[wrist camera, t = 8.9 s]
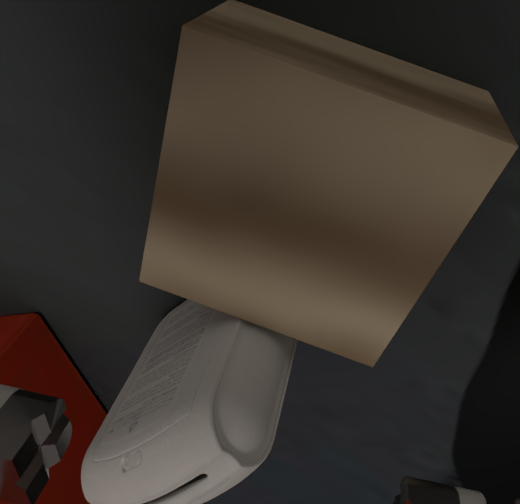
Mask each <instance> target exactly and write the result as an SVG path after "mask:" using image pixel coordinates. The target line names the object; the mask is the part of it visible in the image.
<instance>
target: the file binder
mask: <svg viewBox="0 0 520 504" xmlns="http://www.w3.org/2000/svg"><path fill="white" fill-rule="evenodd" d="M0 384H2V385H6V386H11V387H15V388H20V389H23V390H27V391H31V392H36V393H40V394H44V395H49V396H53V397H58V398H62V399H64V402H65V405H66V410H65V411H64V413H63V414H64V415H65V416H66V417H67V418H68V419H69V420H70V422H71V425H72V436H71V439H70V442H69V445H68V448H67V450H66V452H65V454H64V455H63V457H62V459H61V461H59V462H58V463H56V464H55V465H53V466H52V467H50V468H49V480H48V482H47V484H46V485H45V487H44V489H43V490H42V492H41V494H40V495H39V497H38V498H37V500H36V502H35V503H34V504H90V503H89V502H88V501H87V500H86V498H85V496H84V493H83V490H82V485H81V468H82V463H83V459H84V457H85V454H86V452H87V449H88V448H89V446H90V444H91V442H92V441H93V439H94V437H95V435H96V433H97V432H98V430H99V428H100V427H101V425H102V423H103V421H104V420H105V418H106V416H107V414H106V412H105V411H104V409H103V408H102V406H101V405H100V403H99V402H98V401H97V399H96V398H95V396H94V395H93V393H92V392H91V390H90V389H89V387H88V386H87V384H86V383H85V382H84V380H83V379H82V377H81V376H80V374H79V373H78V371H77V370H76V368H75V367H74V365H73V364H72V362H71V361H70V360H69V358H68V357H67V355H66V354H65V352H64V351H63V349H62V348H61V346H60V345H59V343H58V342H57V341H56V339H55V338H54V336H53V335H52V333H51V332H50V330H49V329H48V327H47V326H46V324H45V323H44V322H43V320H42V319H41V317H40V316H39V314H36V313H28V314H19V315H9V316H0ZM0 504H15V503H11V502H7V501H2V500H0Z"/></svg>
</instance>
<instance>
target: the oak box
mask: <svg viewBox="0 0 520 504" xmlns="http://www.w3.org/2000/svg"><path fill="white" fill-rule="evenodd" d="M517 148H518V145H517V143H516V141H515V139H514V138H513V136H512V134H511V132H510V130H509V128H508V126H507V125H506V123H505V121H504V119H503V117H502V115H501V113H500V112H499V110H498V108H497V106H496V104H495V102H494V100H493V99H492V97H491V95H490V93H489V91H486V90H484V89H481V88H478V87H475V86H472V85H470V84H467V83H464V82H461V81H459V80H456V79H453V78H450V77H447V76H445V75H442V74H439V73H436V72H433V71H431V70H428V69H425V68H422V67H420V66H417V65H414V64H411V63H408V62H406V61H403V60H400V59H397V58H395V57H392V56H389V55H386V54H383V53H381V52H378V51H375V50H372V49H370V48H367V47H364V46H361V45H358V44H356V43H353V42H350V41H347V40H345V39H342V38H339V37H336V36H333V35H331V34H328V33H325V32H322V31H320V30H317V29H314V28H311V27H308V26H306V25H303V24H300V23H297V22H295V21H292V20H289V19H286V18H283V17H281V16H278V15H275V14H272V13H270V12H267V11H264V10H261V9H258V8H256V7H253V6H250V5H247V4H245V3H242V2H239V1H236V0H228V1H226V2H224V3H222V4H220V5H219V6H217V7H215V8H213V9H211V10H210V11H208V12H206V13H204V14H202V15H200V16H199V17H197V18H195V19H193V20H191V21H189V22H188V23H186V24H184V25H182V30H181V36H180V42H179V48H178V54H177V60H176V66H175V72H174V78H173V83H172V89H171V95H170V101H169V107H168V113H167V119H166V125H165V131H164V137H163V143H162V149H161V155H160V161H159V167H158V172H157V178H156V184H155V190H154V196H153V202H152V208H151V214H150V220H149V226H148V232H147V238H146V244H145V250H144V256H143V262H142V267H141V273H140V279H139V281H140V282H142V283H145V284H148V285H151V286H153V287H156V288H159V289H161V290H164V291H167V292H170V293H172V294H175V295H178V296H180V297H183V298H186V299H189V300H191V301H194V302H197V303H199V304H202V305H205V306H208V307H210V308H213V309H216V310H218V311H221V312H224V313H227V314H229V315H232V316H235V317H238V318H240V319H243V320H246V321H248V322H251V323H254V324H257V325H259V326H262V327H265V328H267V329H270V330H273V331H276V332H278V333H281V334H284V335H286V336H289V337H292V338H295V339H297V340H300V341H303V342H305V343H308V344H311V345H314V346H316V347H319V348H322V349H324V350H327V351H330V352H333V353H335V354H338V355H341V356H343V357H346V358H349V359H352V360H354V361H357V362H360V363H363V364H365V365H368V366H371V367H373V366H374V365H375V363H376V362H377V360H378V359H379V357H380V356H381V354H382V353H383V351H384V349H385V348H386V346H387V345H388V343H389V342H390V340H391V339H392V337H393V336H394V334H395V333H396V331H397V330H398V328H399V327H400V325H401V324H402V322H403V321H404V319H405V318H406V316H407V315H408V313H409V312H410V310H411V309H412V307H413V306H414V304H415V303H416V301H417V300H418V298H419V297H420V295H421V293H422V292H423V290H424V289H425V287H426V286H427V284H428V283H429V281H430V280H431V278H432V277H433V275H434V274H435V272H436V271H437V269H438V268H439V266H440V265H441V263H442V262H443V260H444V259H445V257H446V256H447V254H448V253H449V251H450V250H451V248H452V247H453V245H454V244H455V242H456V240H457V239H458V237H459V236H460V234H461V233H462V231H463V230H464V228H465V227H466V225H467V224H468V222H469V221H470V219H471V218H472V216H473V215H474V213H475V212H476V210H477V209H478V207H479V206H480V204H481V203H482V201H483V200H484V198H485V197H486V195H487V194H488V192H489V191H490V189H491V188H492V186H493V184H494V183H495V181H496V180H497V178H498V177H499V175H500V174H501V172H502V171H503V169H504V168H505V166H506V165H507V163H508V162H509V160H510V159H511V157H512V156H513V154H514V153H515V151H516V150H517Z"/></svg>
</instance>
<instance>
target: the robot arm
mask: <svg viewBox="0 0 520 504" xmlns="http://www.w3.org/2000/svg"><path fill="white" fill-rule="evenodd" d="M65 410H66V405H65V402H64V399H62V398H58V397H53V396H49V395H44V394H40V393H36V392H31V391H27V390H23V389H20V388H15V387H11V386H6V385H2V384H0V500H2V501H7V502H11V503H15V504H34V503H35V502H36V500H37V498H38V497H39V495H40V494H41V492H42V490H43V489H44V487H45V485H46V484H47V482H48V480H49V468H50V467H52V466H53V465H55V464H56V463H58V462H59V461H61V459H62V457H63V455H64V454H65V452H66V450H67V448H68V445H69V442H70V439H71V436H72V425H71V422H70V420H69V419H68V418H67V417H66V416H65V415H64V414H63V413H64V411H65ZM393 504H486V500H485V498H484V496H483V494H481V493H480V492H477V491H472V490H468V489H463V488H459V487H454V486H452V485H447V484H442V483H437V482H433V481H428V480H423V479H418V478H413V477H408V476H405V477H403V479H402V482H401V484H400V495H397V496H396V497H395V500H394V503H393Z"/></svg>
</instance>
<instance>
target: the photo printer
mask: <svg viewBox="0 0 520 504" xmlns="http://www.w3.org/2000/svg"><path fill="white" fill-rule="evenodd" d="M296 344H297V339H295V338H292V337H289V336H286V335H284V334H281V333H278V332H276V331H273V330H270V329H267V328H265V327H262V326H259V325H257V324H254V323H251V322H248V321H246V320H243V319H240V318H238V317H235V316H232V315H229V314H227V313H224V312H221V311H218V310H216V309H213V308H210V307H208V306H205V305H202V304H199V303H197V302H194V301H191V300H189V299H187V300H186V301H184V302H183V303H182V304H180V305H179V306H177V307H176V308H175V309H173V310H172V311H171V312H170V313H168V314H167V315H166V316H165V317H164V319H163V320H162V321H161V322H160V323H159V325H158V326H157V328H156V329H155V331H154V333H153V334H152V336H151V338H150V340H149V342H148V343H147V345H146V347H145V349H144V351H143V352H142V354H141V356H140V358H139V360H138V361H137V363H136V365H135V367H134V368H133V370H132V372H131V374H130V376H129V377H128V379H127V381H126V383H125V384H124V386H123V388H122V390H121V391H120V393H119V395H118V397H117V398H116V400H115V402H114V404H113V405H112V407H111V409H110V411H109V412H108V414H107V416H106V418H105V420H104V421H103V423H102V425H101V427H100V428H99V430H98V432H97V433H96V435H95V437H94V439H93V441H92V442H91V444H90V446H89V448H88V449H87V452H86V454H85V457H84V459H83V463H82V468H81V485H82V490H83V493H84V496H85V498H86V500H87V501H88V502H89V503H90V504H202V503H204V502H206V501H208V500H210V499H212V498H214V497H216V496H218V495H220V494H221V493H223V492H225V491H227V490H228V489H230V488H231V487H233V486H235V485H236V484H238V483H239V482H240V481H242V480H243V479H244V478H246V477H247V476H248V475H249V474H251V473H252V472H253V471H254V470H255V469H256V468H257V467H258V466H259V465H260V464H261V463H262V462H263V461H264V460H265V459H266V457H267V456H268V454H269V452H270V450H271V448H272V445H273V442H274V439H275V434H276V430H277V426H278V422H279V418H280V413H281V409H282V404H283V400H284V396H285V392H286V388H287V383H288V379H289V375H290V370H291V366H292V362H293V357H294V353H295V349H296Z"/></svg>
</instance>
